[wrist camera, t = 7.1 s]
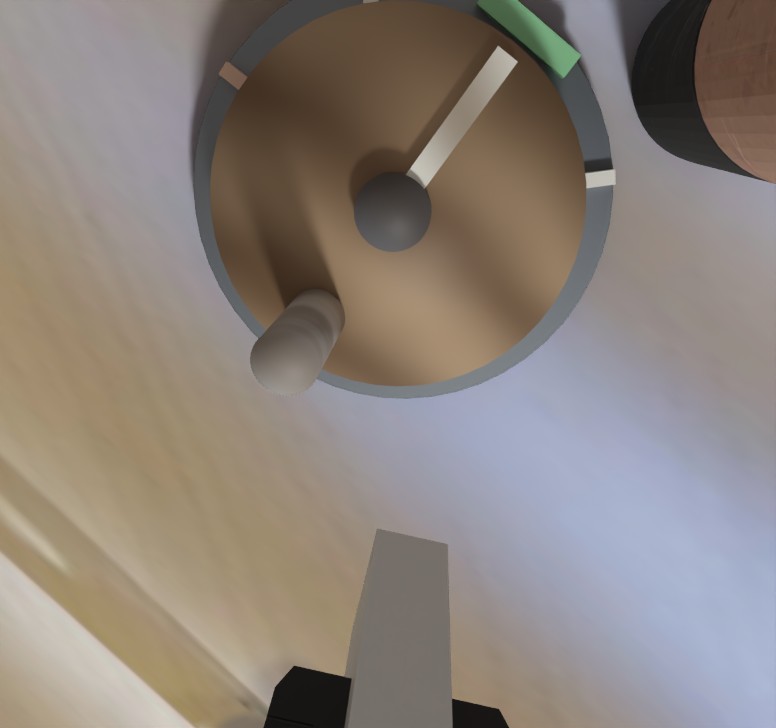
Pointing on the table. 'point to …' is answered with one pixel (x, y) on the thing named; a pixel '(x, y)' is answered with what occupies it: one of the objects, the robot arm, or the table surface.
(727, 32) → the travel mug
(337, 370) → the dial
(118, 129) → the table surface
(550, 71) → the gauge plate
